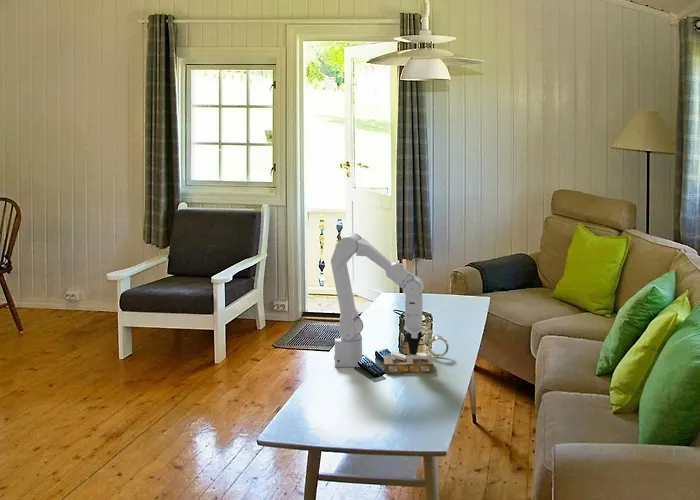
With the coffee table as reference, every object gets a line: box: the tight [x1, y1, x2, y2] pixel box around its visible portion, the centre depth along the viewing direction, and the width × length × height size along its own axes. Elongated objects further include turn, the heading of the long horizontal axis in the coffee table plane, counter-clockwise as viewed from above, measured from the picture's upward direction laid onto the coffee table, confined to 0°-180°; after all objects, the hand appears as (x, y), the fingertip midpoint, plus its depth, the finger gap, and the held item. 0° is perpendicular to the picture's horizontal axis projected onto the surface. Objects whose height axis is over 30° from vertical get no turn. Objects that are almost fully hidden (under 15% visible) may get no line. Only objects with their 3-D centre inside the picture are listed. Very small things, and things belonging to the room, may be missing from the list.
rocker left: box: [390, 350, 406, 361], centre depth 278 cm, size 5×4×1 cm
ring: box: [427, 334, 450, 358], centre depth 291 cm, size 7×3×8 cm, turn 74°
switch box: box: [383, 354, 434, 374], centre depth 279 cm, size 16×10×4 cm, turn 89°
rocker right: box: [410, 352, 427, 359], centre depth 278 cm, size 5×4×1 cm
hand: (413, 353), depth 278 cm, fingers closed, pressing on rocker right
